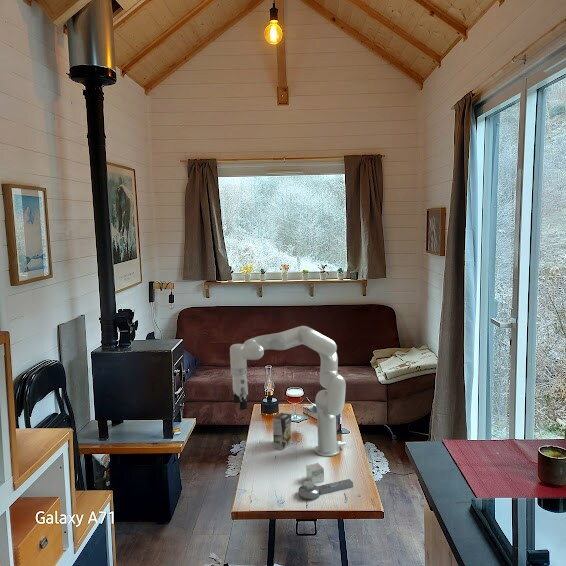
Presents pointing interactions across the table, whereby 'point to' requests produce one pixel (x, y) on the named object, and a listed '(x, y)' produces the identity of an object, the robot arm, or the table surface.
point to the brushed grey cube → (315, 473)
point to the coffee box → (282, 431)
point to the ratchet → (321, 489)
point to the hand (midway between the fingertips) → (240, 405)
